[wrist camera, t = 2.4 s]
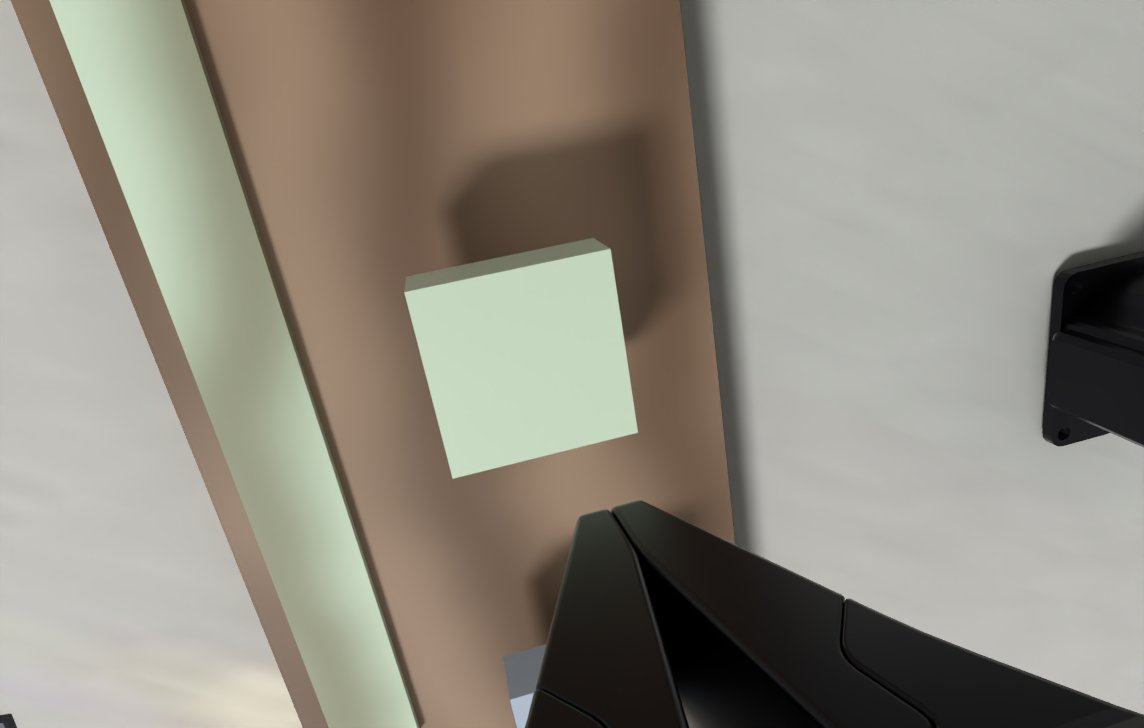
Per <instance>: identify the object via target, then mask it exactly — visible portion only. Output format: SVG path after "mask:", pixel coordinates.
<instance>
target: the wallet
mask: <svg viewBox="0 0 1144 728" xmlns="http://www.w3.org/2000/svg"><path fill="white" fill-rule="evenodd" d="M0 728H16V725H15V723H14V720H13V718H12V715H11V714H8V715H1V716H0Z"/></svg>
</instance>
